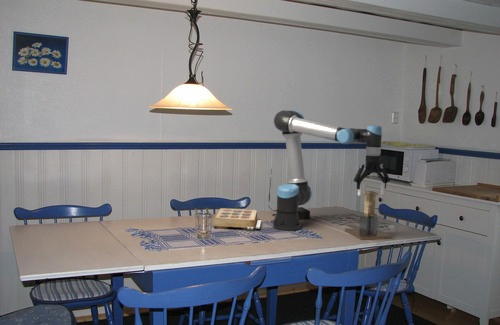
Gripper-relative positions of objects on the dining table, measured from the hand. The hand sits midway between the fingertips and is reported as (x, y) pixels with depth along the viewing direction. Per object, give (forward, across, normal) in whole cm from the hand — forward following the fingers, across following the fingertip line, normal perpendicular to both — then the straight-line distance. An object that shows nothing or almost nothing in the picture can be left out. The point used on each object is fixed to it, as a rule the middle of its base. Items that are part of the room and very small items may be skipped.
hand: (370, 195), depth 270 cm
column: (+19, 0, 0) cm, 20 cm away
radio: (+22, -28, +48) cm, 60 cm away
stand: (+22, 0, 0) cm, 22 cm away
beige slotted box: (+22, -63, +32) cm, 74 cm away
